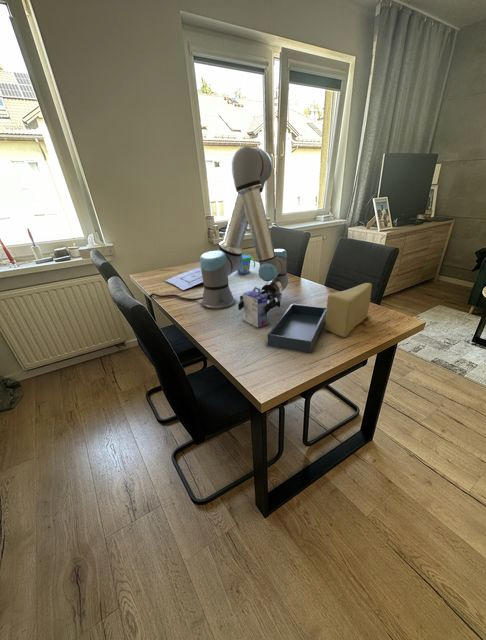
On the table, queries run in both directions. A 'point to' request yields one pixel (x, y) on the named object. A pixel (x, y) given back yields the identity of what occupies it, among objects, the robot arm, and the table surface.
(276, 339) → the bin
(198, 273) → the papers
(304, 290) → the table surface
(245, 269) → the snack cup
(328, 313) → the cheese
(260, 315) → the ink cartridge box
